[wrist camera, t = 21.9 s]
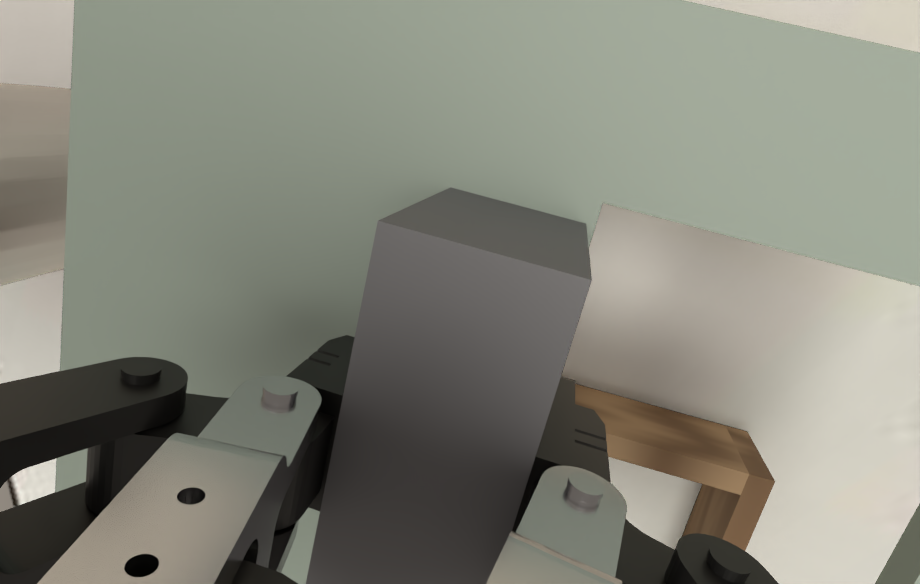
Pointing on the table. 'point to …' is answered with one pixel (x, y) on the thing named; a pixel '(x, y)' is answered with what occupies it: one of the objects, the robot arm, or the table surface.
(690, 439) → the wooden frame
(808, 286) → the table surface
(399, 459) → the lid
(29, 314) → the table surface
